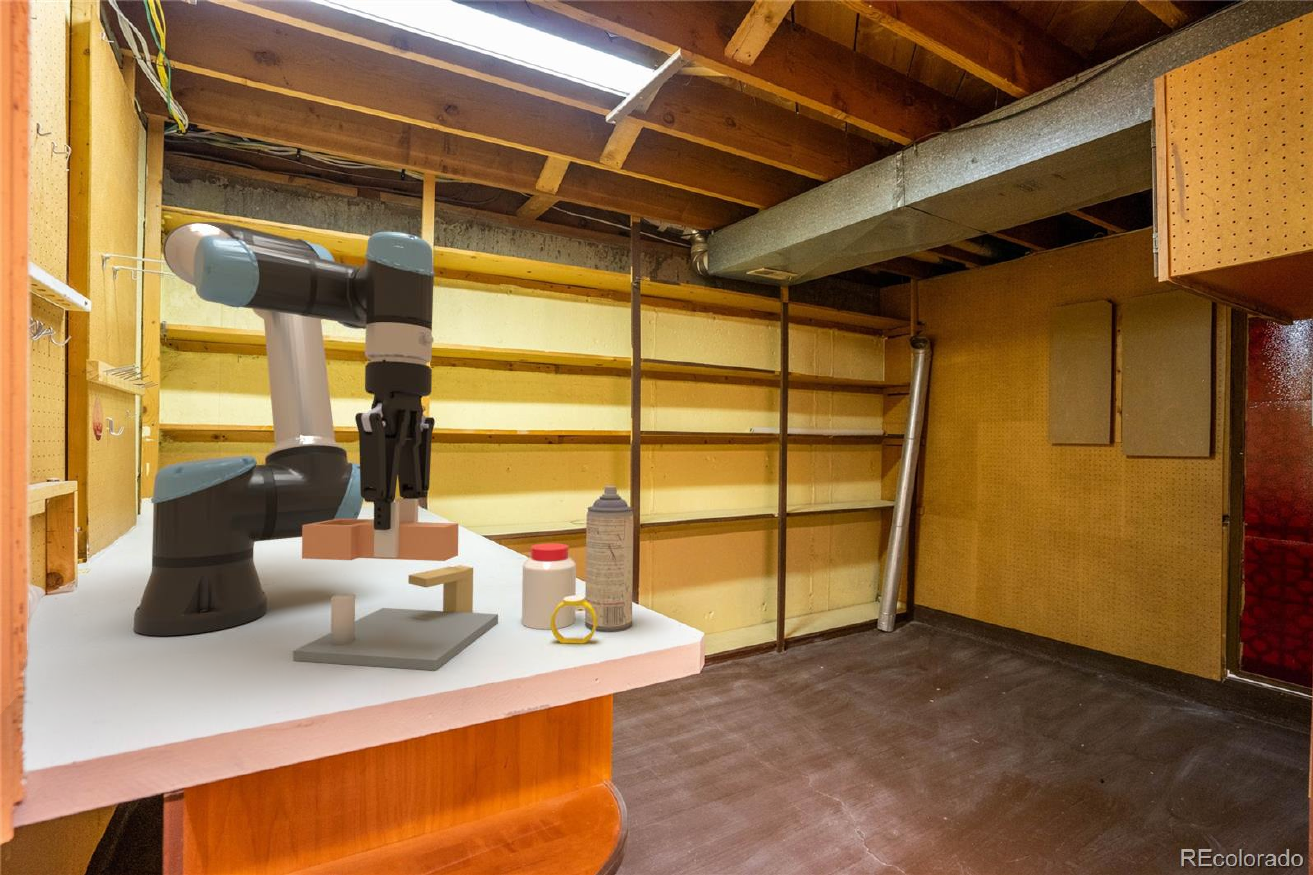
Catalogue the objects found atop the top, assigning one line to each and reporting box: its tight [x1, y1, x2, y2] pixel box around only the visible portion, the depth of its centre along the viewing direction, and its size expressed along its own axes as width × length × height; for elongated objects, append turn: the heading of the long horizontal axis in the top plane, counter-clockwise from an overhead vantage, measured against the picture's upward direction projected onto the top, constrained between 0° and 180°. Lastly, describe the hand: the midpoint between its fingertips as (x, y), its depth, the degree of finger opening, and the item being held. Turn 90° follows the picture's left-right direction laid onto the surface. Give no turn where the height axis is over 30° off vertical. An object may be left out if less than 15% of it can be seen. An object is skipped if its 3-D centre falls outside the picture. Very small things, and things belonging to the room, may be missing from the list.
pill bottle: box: [521, 542, 577, 630], centre depth 86 cm, size 8×8×11 cm
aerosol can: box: [584, 485, 634, 633], centre depth 85 cm, size 7×7×20 cm
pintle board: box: [292, 564, 499, 672], centre depth 79 cm, size 18×22×7 cm
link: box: [301, 518, 459, 562], centre depth 72 cm, size 17×6×4 cm, turn 82°
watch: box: [550, 595, 597, 645], centre depth 78 cm, size 6×3×6 cm, turn 91°
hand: (396, 552), depth 72 cm, fingers closed on link, 3 cm apart
